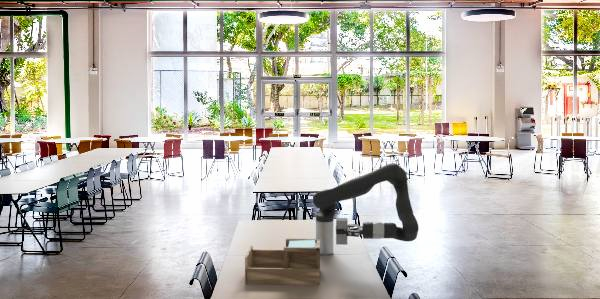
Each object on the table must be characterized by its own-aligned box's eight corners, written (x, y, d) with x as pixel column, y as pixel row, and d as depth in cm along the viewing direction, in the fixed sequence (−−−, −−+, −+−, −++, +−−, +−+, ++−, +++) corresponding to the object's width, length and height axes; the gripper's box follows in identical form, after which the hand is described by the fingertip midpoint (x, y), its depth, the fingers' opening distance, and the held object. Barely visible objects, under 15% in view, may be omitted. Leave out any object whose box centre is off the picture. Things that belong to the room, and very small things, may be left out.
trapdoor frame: (250, 269, 288) (250, 236, 286) (320, 270, 286) (320, 237, 285) (245, 283, 268) (244, 248, 266) (319, 284, 267) (319, 249, 265)
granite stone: (336, 241, 277) (336, 217, 275) (346, 241, 277) (347, 218, 275) (336, 244, 272) (336, 220, 271) (347, 244, 272) (347, 220, 270)
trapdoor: (289, 242, 281) (289, 240, 281) (315, 242, 281) (315, 239, 281) (288, 249, 269) (287, 247, 269) (314, 249, 269) (314, 247, 269)
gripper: (372, 218, 279) (335, 218, 280) (374, 226, 265) (336, 225, 266) (372, 234, 280) (335, 233, 281) (374, 242, 266) (335, 242, 267)
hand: (336, 229), depth 274 cm, fingers closed on granite stone, 5 cm apart
